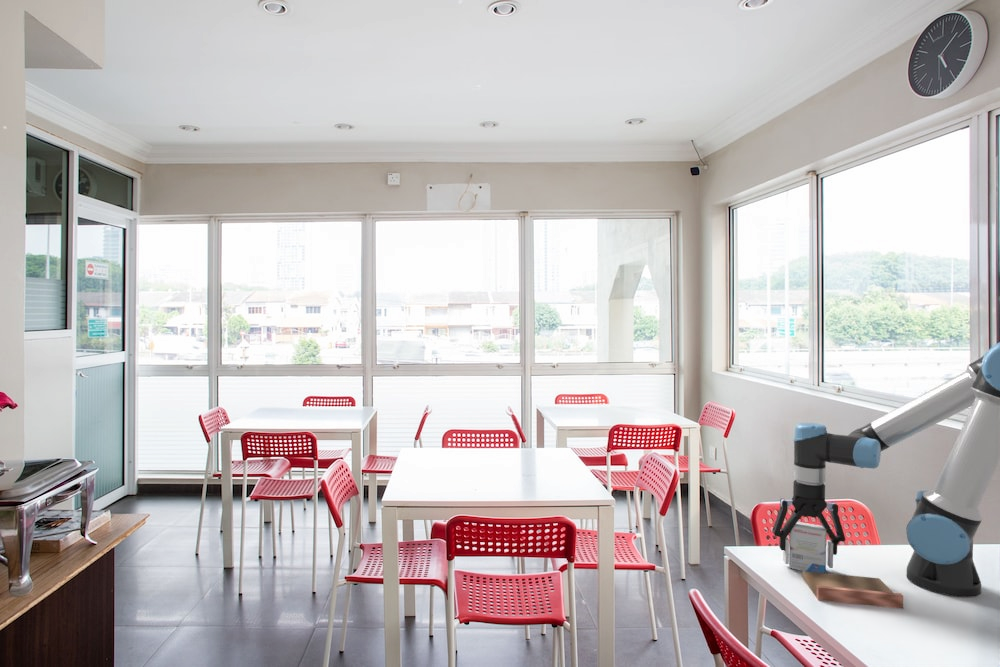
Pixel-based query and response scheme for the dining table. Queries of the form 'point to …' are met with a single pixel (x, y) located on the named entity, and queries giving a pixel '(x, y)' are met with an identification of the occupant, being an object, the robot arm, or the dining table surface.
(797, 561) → the ink box
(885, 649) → the dining table surface
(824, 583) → the shelf board
